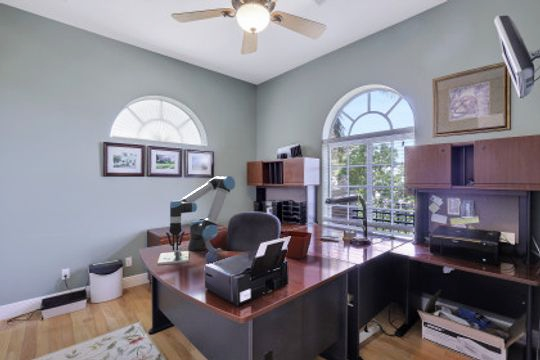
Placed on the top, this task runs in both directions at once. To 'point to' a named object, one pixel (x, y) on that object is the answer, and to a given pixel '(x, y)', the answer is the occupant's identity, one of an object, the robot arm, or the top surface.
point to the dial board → (173, 258)
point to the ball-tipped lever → (178, 253)
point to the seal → (211, 251)
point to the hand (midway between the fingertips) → (175, 254)
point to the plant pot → (297, 243)
